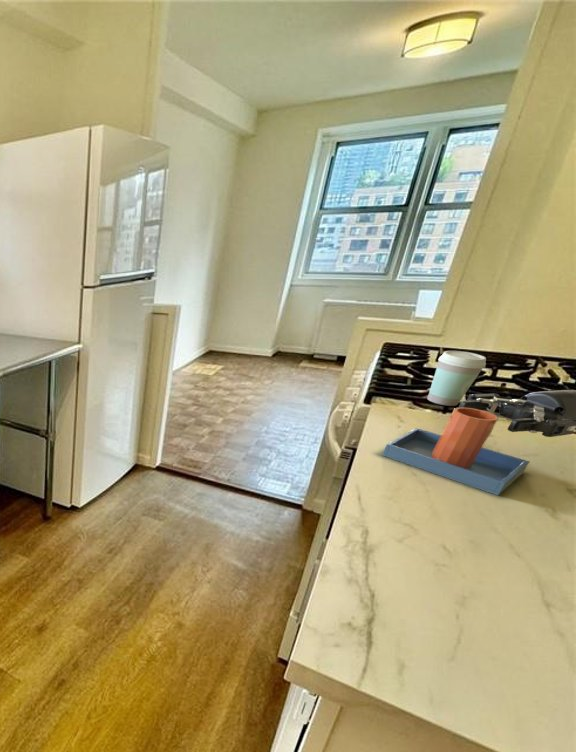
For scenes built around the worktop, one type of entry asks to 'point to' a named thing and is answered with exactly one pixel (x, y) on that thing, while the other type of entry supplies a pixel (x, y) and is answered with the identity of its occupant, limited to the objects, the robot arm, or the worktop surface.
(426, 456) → the tray
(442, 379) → the coffee cup
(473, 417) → the tumbler
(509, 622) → the worktop surface
